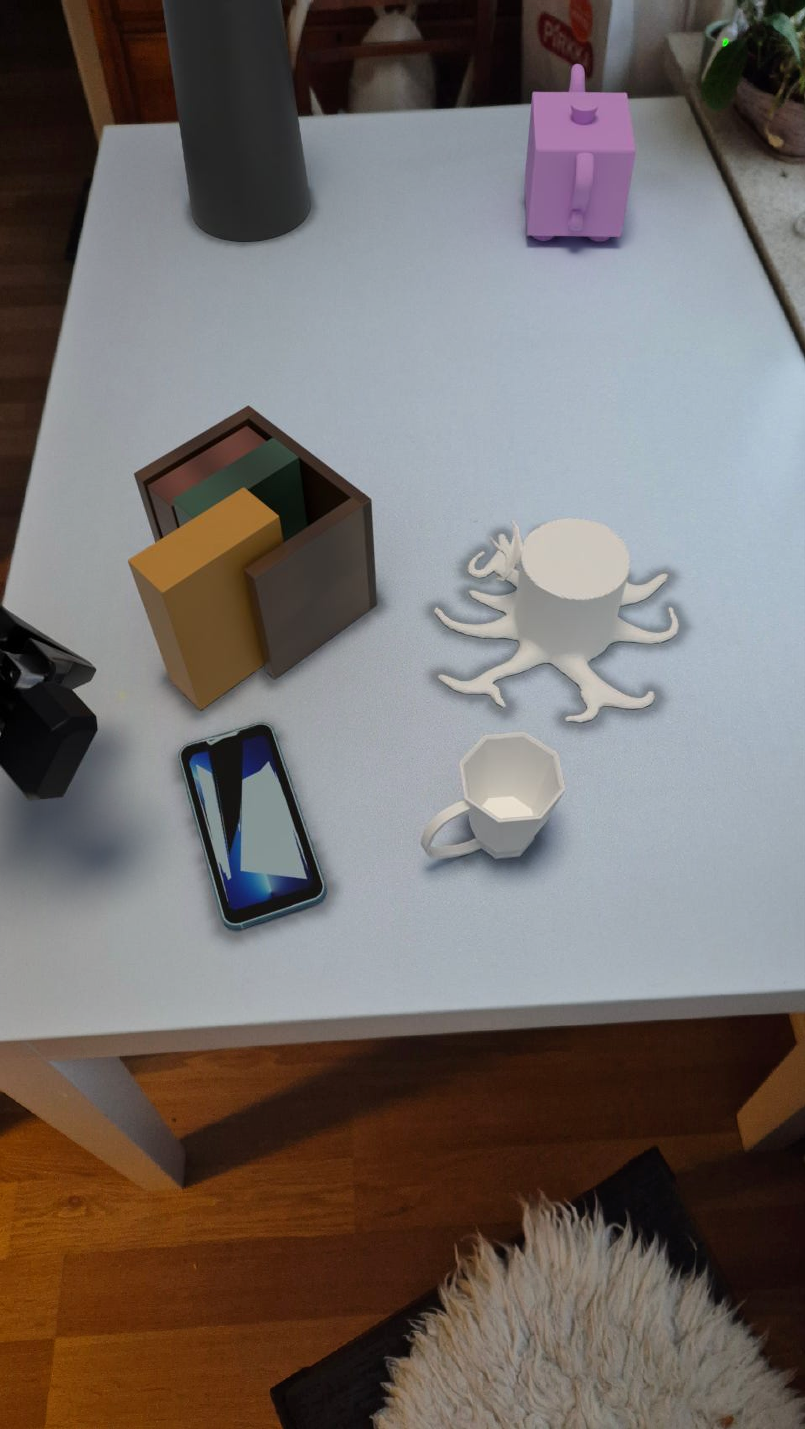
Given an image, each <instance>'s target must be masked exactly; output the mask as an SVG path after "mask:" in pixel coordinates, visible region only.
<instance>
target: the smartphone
mask: <svg viewBox="0 0 805 1429" xmlns="http://www.w3.org/2000/svg"><path fill="white" fill-rule="evenodd" d="M177 758H178V762H179V766H180V769H181V774H182V776H183V781H184V784H185V787H186V794H187V797H188V801H189V804H190V809H191V812H192V816H193V819H194V822H195V824H196V829H197V832H198V836H199V839H200V840H199V841H200V843H201V847H202V850H203V854H204V858H205V862H206V865H207V870H208V873H209V876H210V880H211V884H212V887H213V891H214V896H215V899H216V903H217V906H218V910H219V914H220V917H221V921H222V922H223V924H224V925H225V926H226V927H227V928H229V929H231V930H242V929H245V928H248V927H251V926H255V925H257V924H260V923H263V922H267V921H269V920H273V919H275V918H279V917H281V916H284V915H287V914H291V913H293V912H296V911H299V910H302V909H305V908H309V907H311V906H315V905H318V904H319V903H320V902H321V901H323V899H324V898H325V896H326V894H327V886H326V882H325V878H324V876H323V872H322V869H321V866H320V864H319V860H318V856H317V855H316V852H315V849H314V845H313V843H312V840H311V837H310V834H309V831H308V827H307V824H306V821H305V818H304V816H303V813H302V810H301V806H300V804H299V800H298V798H297V795H296V792H295V789H294V785H293V783H292V778H291V775H290V772H289V768H288V765H287V763H286V762H285V759H284V755H283V753H282V749H281V747H280V743H279V741H278V737H277V735H276V732H275V729H274V727H273V726H272V725H271V724H269V723H267V722H256V723H252V724H249V725H246V726H242V727H239V728H235V729H233V730H229V731H225V732H222V733H218V734H215V735H212V736H208V737H205V738H201V739H199V740H195V741H192V742H189V743H187V744H184V745H183V746H182V747H181V748H180V749H179V752H178V757H177Z"/></svg>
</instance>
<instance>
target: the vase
mask: <svg viewBox="0 0 805 1429" xmlns="http://www.w3.org/2000/svg"><path fill="white" fill-rule="evenodd" d="M161 1H162V2H161V3H162V8H163V15H164V16H163V18H164V23H165V32H166V37H167V38H166V39H167V46H168V52H169V61H170V67H171V73H172V74H171V75H172V82H173V89H174V96H175V98H174V99H175V103H176V104H175V105H176V111H177V117H178V127H179V133H180V141H181V148H182V155H183V163H184V170H185V174H186V175H185V176H186V184H187V191H188V196H189V205H190V206H189V207H190V211H191V216H192V219H193V221H194V222H195V224H196V225H197V226H198V227H199V228H200V229H201V230H202V231H203V232H204V233H205V232H206V233H207V234H208V235H211V236H213V237H216V238H219V239H222V240H226V241H235V242H258V241H264V240H269V239H273V238H276V237H279V236H282V235H284V234H286V233H289V232H290V231H292V230H294V229H296V228H297V227H298V226H299V225H301V224H302V222H304V221H305V220H306V218H307V216H308V215H309V213H310V209H311V196H310V194H311V193H310V189H309V180H308V175H307V166H306V161H305V154H304V146H303V141H302V134H301V133H302V132H301V127H300V120H299V112H298V106H297V100H296V99H297V98H296V93H295V86H294V81H293V71H292V67H291V59H290V54H289V46H288V41H287V40H288V39H287V32H286V25H285V19H284V13H283V6H282V0H161Z"/></svg>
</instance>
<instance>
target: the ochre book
mask: <svg viewBox="0 0 805 1429" xmlns="http://www.w3.org/2000/svg"><path fill="white" fill-rule="evenodd" d="M281 544H283V537H282V531H281V525H280V518H279V516H278V515H277V514H276V513H275V512H274V511H272V510H271V509H270V508H269V507H267V506H266V505H265V504H264V503H263V502H261V501H260V500H259V499H258V498H256V497H255V496H254V495H253V494H252V493H250V492H249V491H248V490H247V489H245V488H244V487H243V488H241V489H240V490H238V491H237V492H235V493H234V494H232V495H230V496H229V497H227V498H226V499H224V500H222V501H221V502H219V503H218V504H216V505H214V506H213V507H211V508H210V509H208V510H207V511H205V512H203V513H202V514H200V515H199V516H197V517H195V518H194V519H192V520H191V521H189V522H188V523H186V524H184V525H183V526H181V527H180V528H178V529H176V530H175V531H173V532H172V533H170V534H168V535H167V536H165V537H164V538H162V539H161V540H159V541H157V542H156V543H155V542H154V543H153V544H151V545H149V546H148V547H146V548H145V549H142V550H141V551H140V552H138V553H136V554H135V555H133V556H132V557H130V558H128V560H127V563H128V566H129V569H130V571H131V574H132V577H133V580H134V583H135V586H136V588H137V591H138V594H139V597H140V599H141V602H142V606H143V608H144V611H145V613H146V616H147V619H148V622H149V625H150V628H151V630H152V633H153V636H154V639H155V642H156V645H157V647H158V650H159V653H160V656H161V658H162V662H163V664H164V666H165V670H166V673H167V675H168V678H169V681H170V682H171V683H172V684H173V685H174V686H175V687H176V688H177V689H178V690H179V691H180V692H181V693H182V694H183V695H184V696H185V697H186V698H187V699H188V700H189V701H190V702H191V703H192V704H193V705H194V706H195V707H196V708H197V709H198V710H200V711H202V710H204V709H205V708H206V707H207V706H209V705H210V704H211V703H213V702H215V701H217V699H219V698H220V697H221V696H223V695H224V694H226V693H227V692H228V691H229V690H231V689H232V688H234V687H235V686H237V685H238V684H240V683H241V682H242V681H244V680H245V679H246V678H248V677H249V676H250V675H252V674H253V673H255V672H256V671H258V670H259V669H260V668H262V667H263V666H264V661H263V657H262V652H261V647H260V643H259V638H258V634H257V629H256V624H255V620H254V615H253V611H252V606H251V601H250V597H249V592H248V588H247V583H246V578H245V574H244V569H245V568H247V567H248V566H250V565H251V564H253V563H254V562H256V561H257V560H259V559H260V558H262V557H263V556H265V555H266V554H268V553H269V552H271V551H272V550H274V549H275V548H277V547H278V546H280V545H281Z"/></svg>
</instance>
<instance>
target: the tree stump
mask: <svg viewBox="0 0 805 1429" xmlns="http://www.w3.org/2000/svg"><path fill="white" fill-rule="evenodd" d="M510 522H511V523H512V527H513V528H512V531H513V534H512V539H511V542H509V540H508V538H507V536H506V535H505V533H499V534H498V536H497V538H498V540H497V541H495V540H494V539H493V537H492V536H489V538H490V542H492V544H493V546H494V547H495V548H496V549H497V552H495V554H494V555H493V556H492V557H491V559H490V560H489V561H488V563H487V564H486V565H485V566H484V567H483V568H482V569H476V568H475V567H476V564H477V563H478V559H479V558H482V557H483V556H484V555H485V554H486V553H485V551H483V550H482V551H481V552H479V553H478V554H476V555H475V556H474V557H473V558H472V559H471V560H470V561H469V563H468V566H467V572H468V573H469V574H470V575H471V576H472V577H475V578H479V579H481V578H487V576H488V575H490V574H492V573H493V572H495V573H496V574H497V575H499V576H498V577H496V580H497V581H501V582H503V581H507V582H509V583H511V584H512V585H513V586H514V587H515V588H516V590H515V591H512V592H510V593H508V594H501V595H493V594H488V593H484V592H480V591H478V590H473V589H471V590H469V591H468V594H469V595H470V596H471V598H473V599H474V600H477V601H478V602H480V604H483V605H487V606H489V607H491V608H493V609H495V610H498V611H501V612H504V613H505V615H504V616H502V617H500V618H498V619H496V620H495V621H491V622H487V623H481V624H473V623H471V624H470V623H462V622H458V621H456V620H452V619H451V618H449V617H448V616H447V615H445V614H444V612H443V611H442V610H441V609H440V608H439V607H435V608H434V611H433V612H434V614H435V615H436V616H437V617H438V618H439V619H440V621H441V622H442V623H443V625H445V626H447V628H449V629H450V630H454V631H455V632H458V633H462V634H464V635H466V636H472V637H479V638H481V639H486V638H487V639H510V640H513V641H514V640H515V641H518V643H519V644H518V645H519V647H518V649H517V651H516V653H515V654H514V655H513V657H511V659H509V660H508V661H506V662H504V663H502V664H500V665H497V666H495V667H492V668H490V669H489V670H487V671H485V672H483V673H481V675H479V676H477V677H475V678H473V679H471V680H459V679H456V678H453V677H452V676H449V675H445V674H439V675H438V676H437V678H438V679H439V681H441V682H442V683H444V684H445V685H446V686H448V687H449V688H451V689H452V690H453V691H457V692H459V693H462V694H466V695H478V694H479V695H482V694H483V695H484V694H487V695H490V698H492V699H493V700H494V702H495V703H496V704H497V705H499V706H500V707H501V708H502V709H505V708H507V705H506V702H505V701H504V699H503V697H501V692H500V688H499V687H498V686H497V685H496V684H494V682H496V681H497V680H500V679H504V678H506V677H509V676H513V675H517V674H520V673H522V672H525V671H529V670H530V669H532V668H534V667H536V666H538V665H542V664H548V663H549V664H551V665H553V666H554V667H555V668H557V669H558V670H559V671H560V672H561V673H563V674H564V675H565V676H566V677H568V678H569V679H570V680H572V681H573V683H575V684H577V686H579V690H580V692H579V694H580V698H581V699H582V701H583V703H584V704H585V706H586V710H585V711H584V712H582V713H580V714H577V715H568V716H565V718H564V719H565V721H566V722H576V723H584V722H588V721H592V720H593V719H595V717H596V716H597V715H598V713H599V711H600V709H602V707H615V708H619V709H629V710H635V709H643V708H644V709H645V708H646V707H647V706H650V705H651V704H653V702H654V700H655V693H654V691H653V690H650V691H648V693H646V695H645V696H642V697H633V696H630V695H627V694H624V693H622V692H620V691H619V690H618V689H616V688H615V687H613V686H611V685H610V684H608V683H607V682H606V681H604V680H603V679H602V678H601V677H599V676H598V675H597V673H595V672H594V671H593V670H592V668H590V666H589V662H590V661H591V660H593V659H596V658H597V657H598V656H600V655H601V654H602V653H604V652H605V651H606V649H607V648H608V647H609V646H610V645H611V644H613V643H616V642H630V643H631V642H633V643H638V644H648V645H649V644H650V645H652V644H657V643H659V644H661V643H662V642H665V641H668V640H670V639H672V638H673V637H675V636H676V635H677V634H678V630H679V627H680V624H679V620H678V618H677V615H676V613H675V610H674V607H671V606H670V607H668V609H667V610H668V612H669V617H670V620H671V625H670V627H669V629H668V630H666V631H662V632H651V631H648V630H645V629H643V628H639V627H637V626H635V625H633V624H631V623H629V622H626V621H625V620H624V619H622V618H621V617H620V616H619V612H620V609H621V607H622V606H627V605H632V604H636V603H639V602H641V601H643V600H646V599H647V598H649V597H650V596H652V595H653V594H654V593H655V592H656V591H657V590H658V589H659V588H660V587H661V585H663V584H664V583H665V582H667V580H668V579H667V578H668V577H669V575H668V574H667V573H661V574H659V575H657V576H656V577H654V578H653V579H651V580H650V581H649V582H647V583H644V584H638V585H636V584H632V583H630V582H629V581H628V577H629V574H630V569H631V555H630V552H629V549H628V547H627V545H626V543H625V542H624V541H623V539H622V538H620V535H618V534H617V533H616V532H614V531H613V530H612V529H611V528H610V527H608V526H606V525H605V524H602V523H600V522H597V521H593V520H587V518H579V517H574V518H572V517H569V518H568V517H566V518H560V519H559V518H558V519H556V520H555V519H553V520H552V521H548V522H546V523H543V524H540V526H538V527H536V528H535V529H533V530H532V531H531V532H530V533H529V534H528V535H527V536H526V538H525V540H524V542H523V538H522V536H521V532H520V530H519V527H518V524H517V523H516V521H515V519H513V520H511V521H510ZM516 568H519V570H517V569H516Z"/></svg>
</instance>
